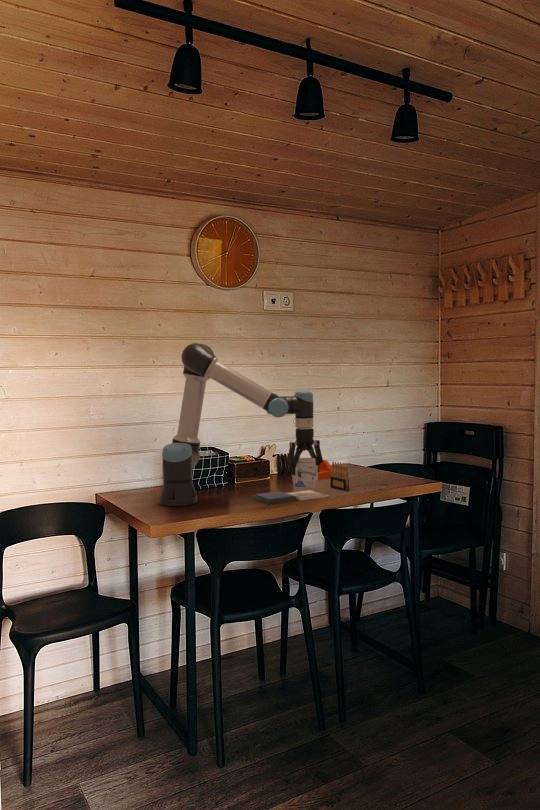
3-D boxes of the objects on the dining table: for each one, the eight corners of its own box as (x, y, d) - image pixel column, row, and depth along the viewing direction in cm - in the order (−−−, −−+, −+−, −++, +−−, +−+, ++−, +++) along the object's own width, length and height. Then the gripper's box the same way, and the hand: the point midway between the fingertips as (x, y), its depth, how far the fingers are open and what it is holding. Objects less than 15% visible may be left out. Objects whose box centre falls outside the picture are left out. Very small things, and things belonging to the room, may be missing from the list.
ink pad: (268, 504, 250) (268, 499, 250) (252, 498, 261) (252, 494, 261) (296, 500, 256) (296, 496, 256) (279, 495, 268) (279, 490, 268)
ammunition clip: (330, 487, 283) (329, 461, 282) (333, 487, 284) (333, 460, 283) (346, 491, 274) (345, 463, 273) (349, 490, 275) (349, 463, 274)
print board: (300, 500, 257) (300, 498, 257) (282, 494, 269) (282, 492, 269) (328, 496, 264) (328, 494, 264) (309, 490, 276) (309, 489, 276)
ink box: (294, 487, 264) (294, 459, 263) (295, 485, 269) (295, 457, 268) (315, 487, 263) (315, 459, 262) (315, 485, 268) (315, 457, 267)
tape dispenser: (291, 476, 314) (290, 460, 314) (310, 473, 322) (310, 457, 321) (314, 481, 300) (314, 464, 299) (334, 478, 307) (334, 461, 306)
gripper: (286, 430, 256) (287, 485, 257) (331, 427, 267) (332, 479, 268) (277, 429, 262) (278, 482, 264) (321, 425, 273) (321, 477, 275)
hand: (305, 481), depth 266 cm, fingers closed on ink box, 9 cm apart
